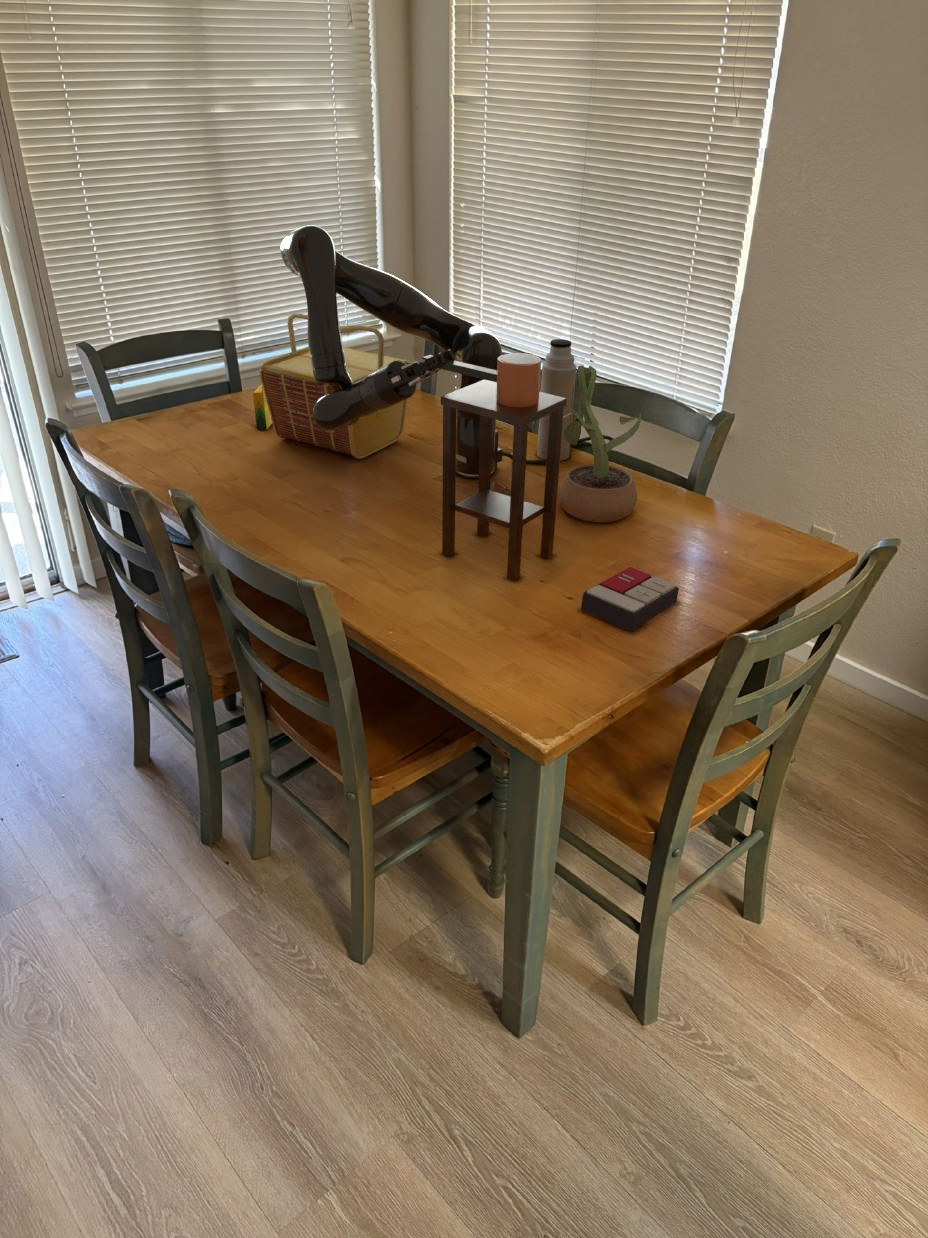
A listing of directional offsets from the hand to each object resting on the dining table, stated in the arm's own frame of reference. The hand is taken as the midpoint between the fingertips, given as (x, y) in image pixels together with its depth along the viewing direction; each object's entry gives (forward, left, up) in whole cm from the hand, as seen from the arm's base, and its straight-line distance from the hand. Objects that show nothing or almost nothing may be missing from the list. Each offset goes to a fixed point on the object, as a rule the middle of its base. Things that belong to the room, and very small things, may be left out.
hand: (447, 356), depth 172 cm
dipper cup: (-1, +7, -5) cm, 9 cm away
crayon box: (-8, -80, -37) cm, 89 cm away
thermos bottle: (-50, -16, -37) cm, 65 cm away
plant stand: (-2, +13, -37) cm, 39 cm away
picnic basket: (-16, -58, -37) cm, 71 cm away
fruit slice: (-19, -2, -37) cm, 42 cm away
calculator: (-6, +43, -37) cm, 57 cm away
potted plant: (-34, +9, -37) cm, 51 cm away
